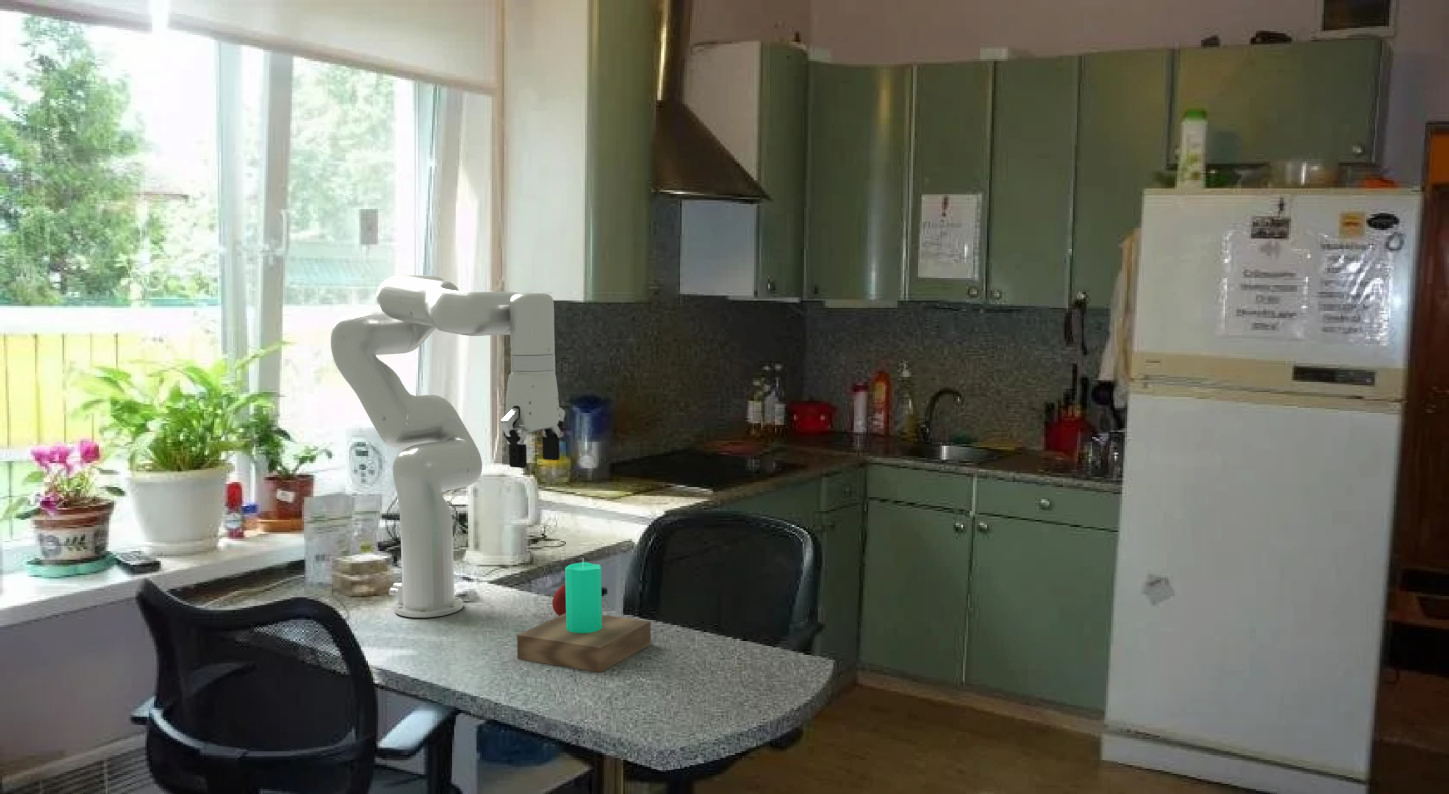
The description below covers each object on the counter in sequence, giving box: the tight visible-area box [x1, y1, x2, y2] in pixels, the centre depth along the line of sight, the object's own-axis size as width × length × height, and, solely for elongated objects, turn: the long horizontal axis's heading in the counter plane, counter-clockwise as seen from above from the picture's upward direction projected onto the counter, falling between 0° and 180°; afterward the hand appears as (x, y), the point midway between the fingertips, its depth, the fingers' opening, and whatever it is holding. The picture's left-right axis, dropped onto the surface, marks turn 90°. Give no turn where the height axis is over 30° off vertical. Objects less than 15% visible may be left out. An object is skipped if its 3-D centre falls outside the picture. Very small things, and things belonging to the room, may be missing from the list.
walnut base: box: [516, 613, 652, 673], centre depth 194 cm, size 16×16×4 cm
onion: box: [551, 580, 566, 617], centre depth 210 cm, size 6×6×8 cm
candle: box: [564, 559, 603, 633], centre depth 193 cm, size 6×6×12 cm
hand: (535, 463), depth 201 cm, fingers open, 9 cm apart
